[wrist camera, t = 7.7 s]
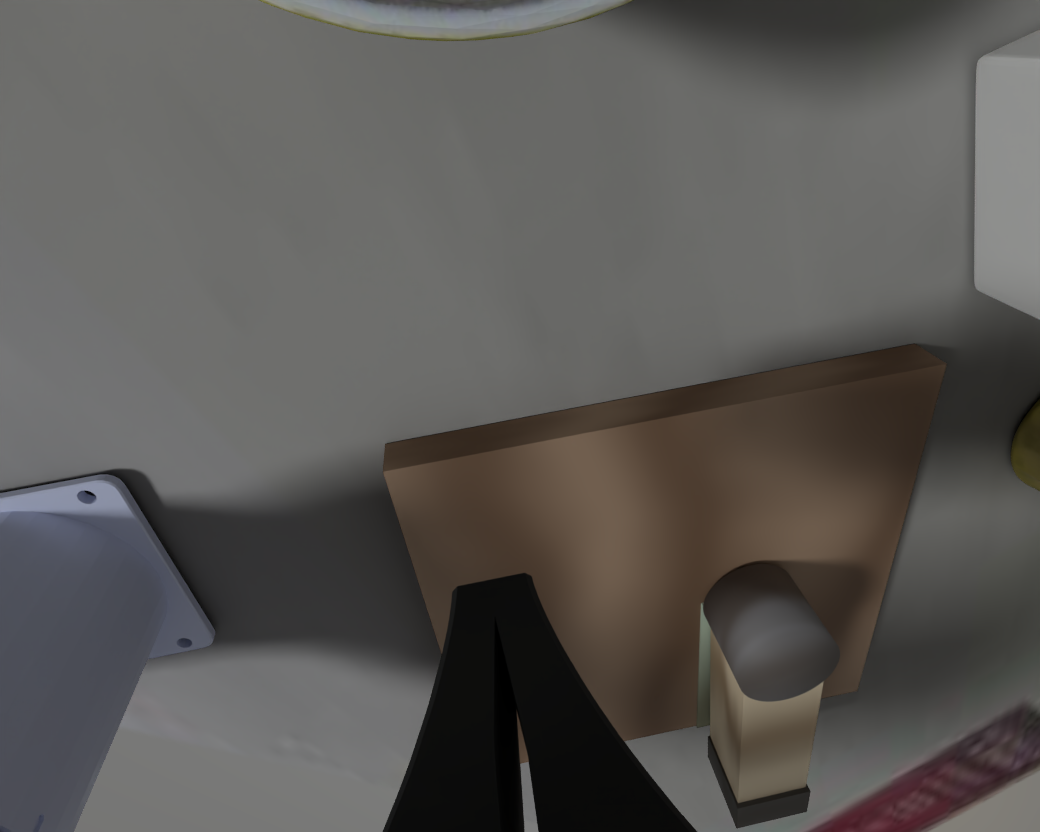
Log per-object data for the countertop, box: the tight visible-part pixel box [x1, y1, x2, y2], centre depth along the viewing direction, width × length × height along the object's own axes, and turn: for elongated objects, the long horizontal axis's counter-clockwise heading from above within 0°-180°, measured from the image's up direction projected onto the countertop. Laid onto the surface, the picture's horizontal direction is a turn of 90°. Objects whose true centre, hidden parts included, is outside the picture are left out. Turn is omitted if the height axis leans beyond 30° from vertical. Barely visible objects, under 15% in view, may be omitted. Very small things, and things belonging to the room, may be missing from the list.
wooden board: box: [383, 344, 947, 763], centre depth 25 cm, size 18×18×2 cm
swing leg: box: [703, 564, 840, 828], centre depth 25 cm, size 13×4×3 cm, turn 10°
